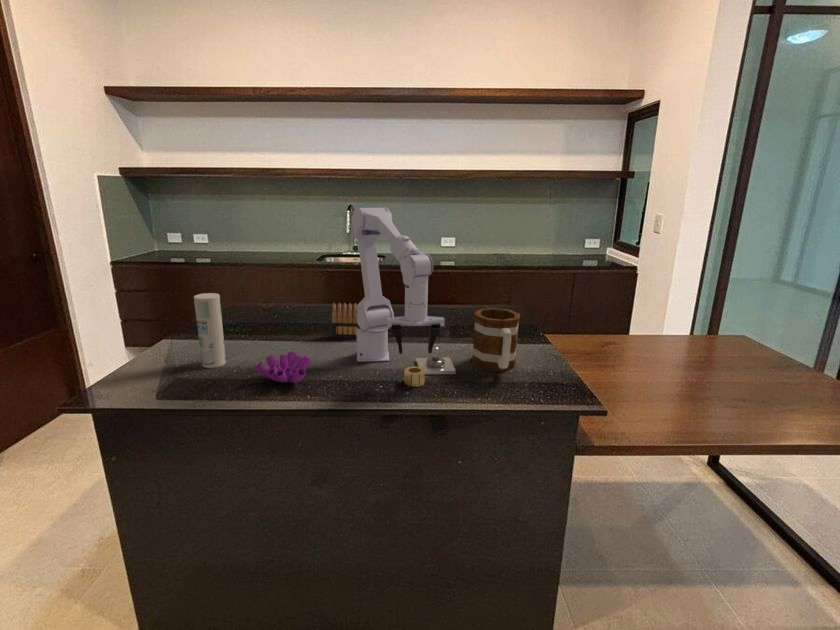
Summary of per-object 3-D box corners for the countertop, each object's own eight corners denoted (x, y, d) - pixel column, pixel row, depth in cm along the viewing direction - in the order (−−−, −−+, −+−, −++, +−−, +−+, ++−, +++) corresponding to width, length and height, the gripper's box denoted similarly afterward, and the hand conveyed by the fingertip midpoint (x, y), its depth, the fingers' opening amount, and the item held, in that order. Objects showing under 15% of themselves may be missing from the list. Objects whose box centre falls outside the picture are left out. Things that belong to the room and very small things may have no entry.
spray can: (231, 362, 135) (224, 295, 130) (211, 369, 130) (203, 299, 124) (216, 357, 138) (209, 291, 133) (196, 364, 133) (188, 296, 127)
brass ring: (405, 386, 122) (405, 374, 121) (403, 378, 127) (404, 366, 126) (425, 386, 123) (425, 374, 122) (423, 378, 128) (423, 366, 127)
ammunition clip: (364, 336, 160) (363, 302, 157) (363, 338, 158) (362, 303, 155) (332, 335, 160) (331, 301, 157) (331, 337, 158) (330, 302, 155)
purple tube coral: (272, 403, 119) (247, 374, 117) (290, 378, 133) (268, 353, 131) (306, 380, 117) (281, 350, 115) (320, 357, 131) (299, 331, 129)
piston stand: (419, 374, 130) (420, 353, 128) (416, 361, 139) (416, 341, 138) (455, 373, 131) (456, 353, 129) (449, 360, 141) (450, 341, 139)
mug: (467, 354, 146) (470, 307, 142) (510, 353, 147) (514, 307, 143) (480, 380, 127) (483, 327, 123) (528, 379, 128) (533, 327, 124)
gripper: (388, 306, 114) (388, 358, 118) (447, 305, 116) (445, 357, 119) (386, 299, 121) (386, 348, 125) (442, 298, 122) (440, 347, 126)
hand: (415, 352), depth 122 cm, fingers open, 7 cm apart
